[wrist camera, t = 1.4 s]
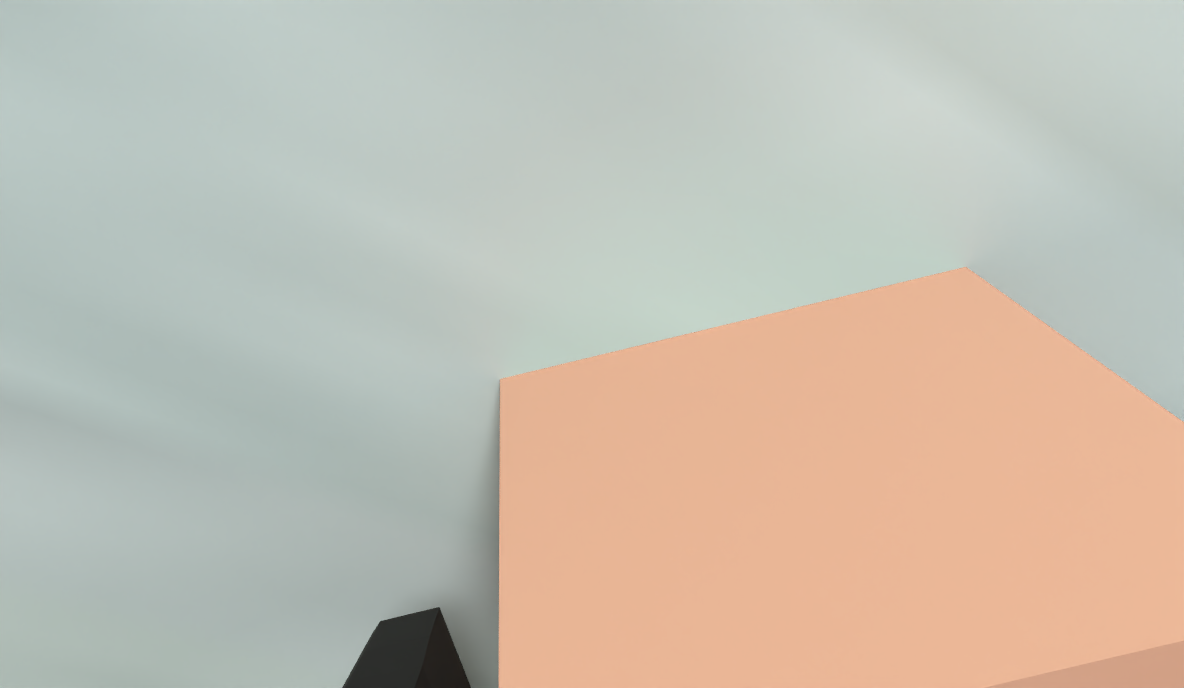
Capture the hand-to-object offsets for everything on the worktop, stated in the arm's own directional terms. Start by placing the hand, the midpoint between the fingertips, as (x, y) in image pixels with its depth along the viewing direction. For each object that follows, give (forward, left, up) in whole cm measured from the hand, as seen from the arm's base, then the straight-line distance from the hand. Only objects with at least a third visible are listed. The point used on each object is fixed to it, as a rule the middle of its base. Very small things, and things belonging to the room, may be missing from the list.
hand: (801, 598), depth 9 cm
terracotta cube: (0, 0, -2) cm, 2 cm away
